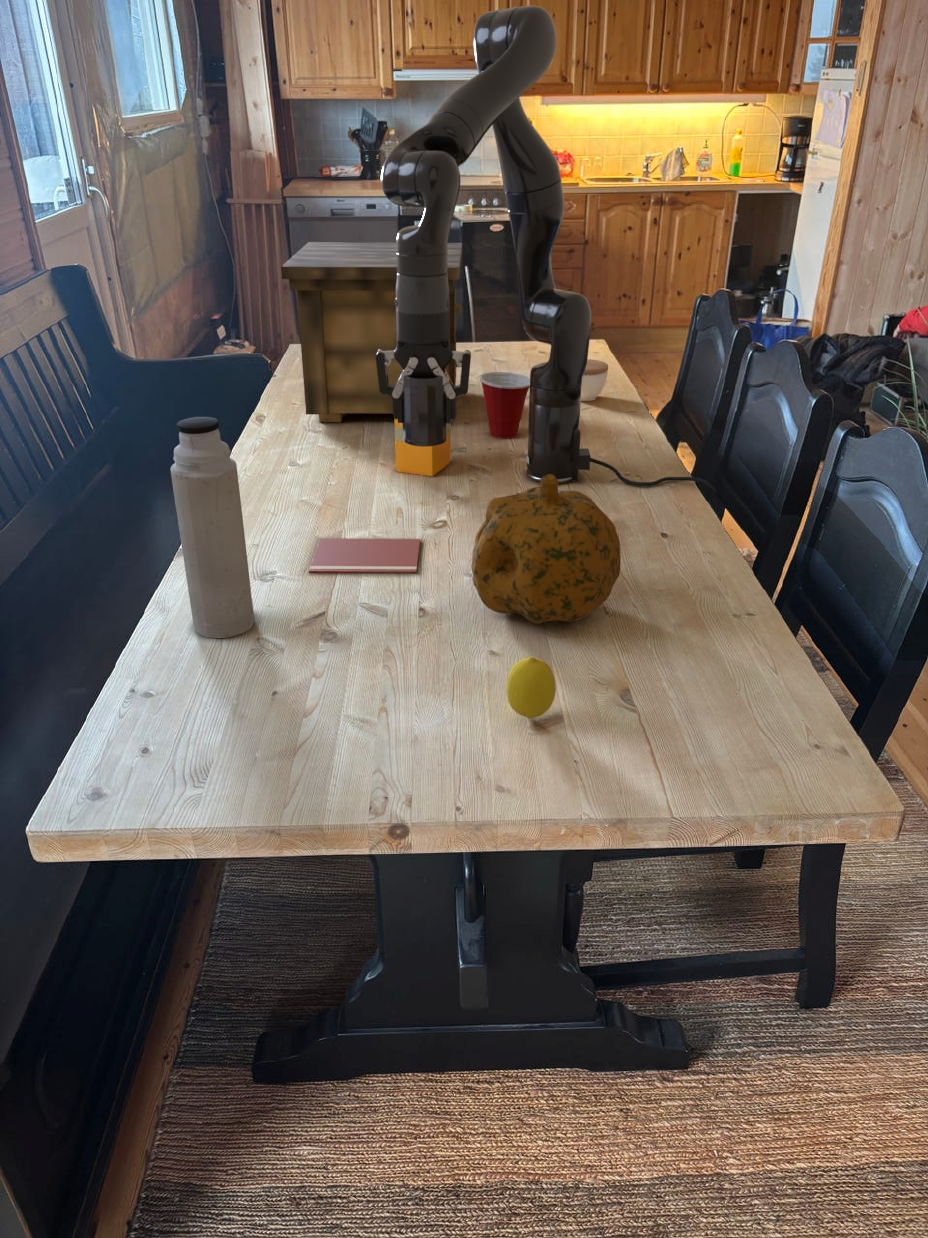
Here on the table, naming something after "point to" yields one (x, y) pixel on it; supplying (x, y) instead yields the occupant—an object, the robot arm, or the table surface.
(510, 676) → the lemon
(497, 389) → the plastic cup
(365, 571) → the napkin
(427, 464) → the orange juice
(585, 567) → the decorative pumpkin
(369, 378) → the crate
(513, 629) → the table surface
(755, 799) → the table surface
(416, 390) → the black cup
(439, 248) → the robot arm
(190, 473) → the thermos bottle
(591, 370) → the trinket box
